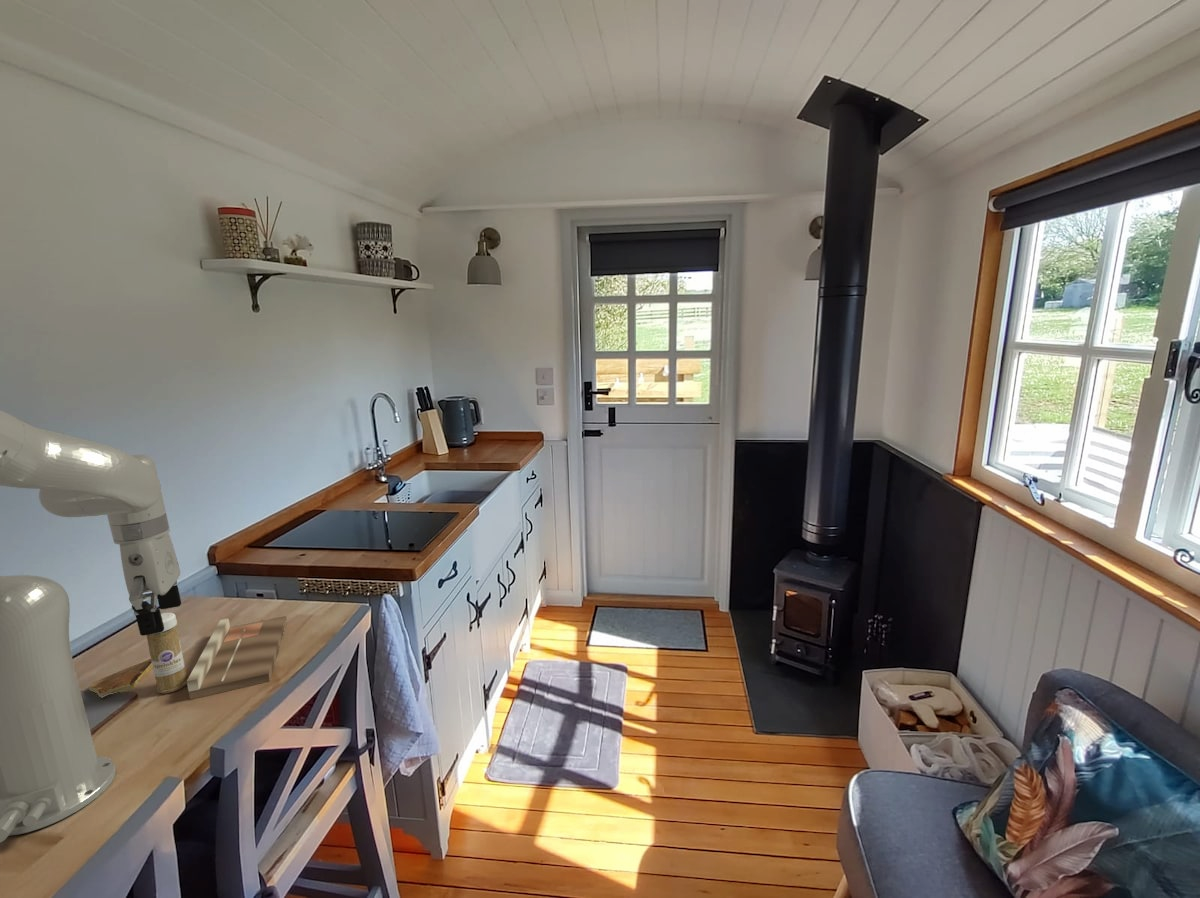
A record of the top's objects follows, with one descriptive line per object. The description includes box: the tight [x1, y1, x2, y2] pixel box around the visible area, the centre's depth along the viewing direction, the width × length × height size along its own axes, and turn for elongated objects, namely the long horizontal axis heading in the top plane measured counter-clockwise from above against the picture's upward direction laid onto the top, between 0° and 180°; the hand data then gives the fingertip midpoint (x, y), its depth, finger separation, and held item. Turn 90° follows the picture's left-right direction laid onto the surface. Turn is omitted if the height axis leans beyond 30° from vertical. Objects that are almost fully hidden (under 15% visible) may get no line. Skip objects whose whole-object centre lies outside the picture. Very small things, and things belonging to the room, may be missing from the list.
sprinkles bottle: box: [145, 612, 188, 694], centre depth 99 cm, size 5×5×14 cm
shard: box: [88, 658, 153, 697], centre depth 103 cm, size 11×8×2 cm
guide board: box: [186, 615, 288, 700], centre depth 109 cm, size 24×12×4 cm, turn 22°
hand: (162, 619), depth 99 cm, fingers open, 9 cm apart
